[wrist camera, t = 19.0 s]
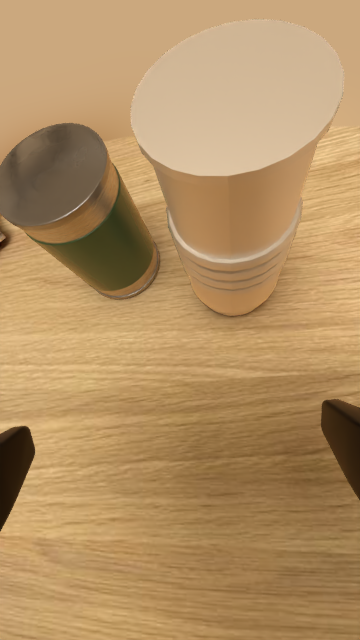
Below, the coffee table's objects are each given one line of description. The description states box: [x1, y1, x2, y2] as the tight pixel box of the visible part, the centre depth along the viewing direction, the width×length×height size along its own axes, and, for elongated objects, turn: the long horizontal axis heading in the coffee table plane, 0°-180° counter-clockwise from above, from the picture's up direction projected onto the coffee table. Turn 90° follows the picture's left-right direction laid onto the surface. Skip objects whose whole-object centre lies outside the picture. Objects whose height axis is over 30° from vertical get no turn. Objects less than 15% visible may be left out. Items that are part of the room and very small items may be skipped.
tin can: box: [0, 123, 160, 299], centre depth 20 cm, size 7×7×11 cm
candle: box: [131, 19, 344, 316], centre depth 16 cm, size 7×7×15 cm
